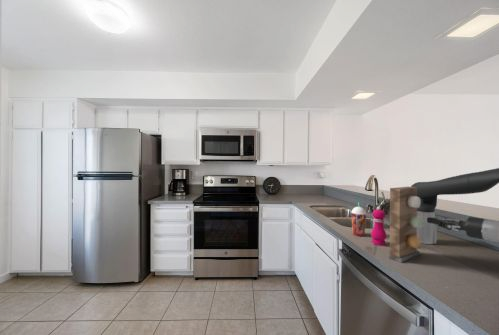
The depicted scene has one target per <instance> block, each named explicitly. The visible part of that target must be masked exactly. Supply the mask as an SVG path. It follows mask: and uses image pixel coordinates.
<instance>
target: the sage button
mask: <svg viewBox="0 0 499 335" xmlns="http://www.w3.org/2000/svg"><path fill="white" fill-rule="evenodd" d="M410 224H411V227H414V228H418V229H422V227H423V224H424V220H423V218H421V217H416V216H413V217H412V218H411V221H410Z"/></svg>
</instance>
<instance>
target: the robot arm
mask: <svg viewBox="0 0 499 335" xmlns="http://www.w3.org/2000/svg"><path fill="white" fill-rule="evenodd" d="M498 184H499V167H497V168H493V169H492V168H491V169H487V170H482V171H478V172H470V173H465V174H459V175H455V176H450V177H447V178H442V179H438V180H432V181H420V182H415V183H413V184H412V185H411V186H410V187H417V197H419V198H420V200H421V203H420V207H419V208H417V217H421V218H423V220H424V224H423V227H422V229H418V228H417V237H419V238H420V244H424V245H434V244H435V245H436V244H437V226H438V227H440V228H443V229H446V230H447V231H452V230H453V231H456V232H461V231H464V232H465V233H466V236H468V237H469V238H473V239H477V240H481V241H482V240H484V241H487V242H493V243H499V220H498V219H497V220H496V219H488V218H484V217H483V218H482V217H481V218H480V217H474V216H469V217H467V219H466V220H465V221H464V219H462V218H446V217H444V218H442V217H441V218H439V217H437V218H435V217H436V216H435V215H436V214H435V213H436V212H435V210H436V208H437V204H438V196H441V195H442V196H443V195H446V196H447V195H469V194H478V193H480V194H481V193H485V192H486V191H489V190H490V189H492V188H493V187H495V186H496V185H498ZM436 225H437V226H436Z"/></svg>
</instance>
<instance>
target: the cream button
mask: <svg viewBox="0 0 499 335" xmlns="http://www.w3.org/2000/svg"><path fill="white" fill-rule="evenodd" d="M407 203H408V206H409V207H414V208H419V207H420V203H421V200H420V198H419V197H416V196H409V197H408V201H407Z"/></svg>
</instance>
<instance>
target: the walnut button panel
mask: <svg viewBox="0 0 499 335" xmlns="http://www.w3.org/2000/svg"><path fill="white" fill-rule="evenodd" d="M409 196H416V197H417V187H411V186H401V187H390V188H389V255H388V258H389V259H390V260H393V261H395V262H398V263H403V262H406V261H409V260H410V259H412V258H415V257H418V256H420V252H421V251H419V250H417V249H418V248H414V247H410V246H408V244H407V239H408V237H409V235H412V236H416V237H417V228H414V227H411V224H410V221H411V218H412V217H413V216H416V217H417V208H414V207H409V206H408V203H407V201H408V197H409Z"/></svg>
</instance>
